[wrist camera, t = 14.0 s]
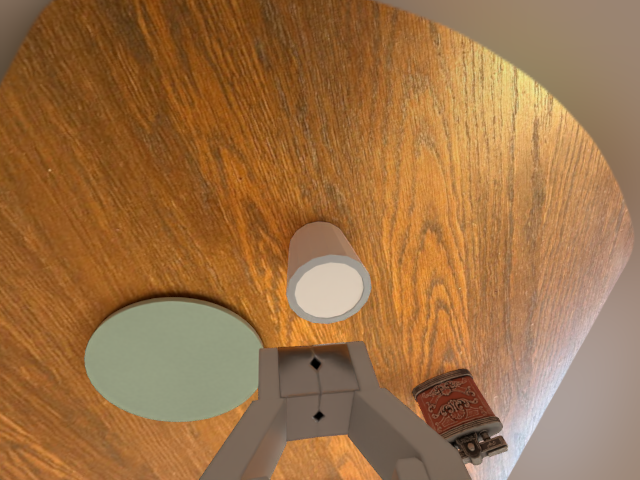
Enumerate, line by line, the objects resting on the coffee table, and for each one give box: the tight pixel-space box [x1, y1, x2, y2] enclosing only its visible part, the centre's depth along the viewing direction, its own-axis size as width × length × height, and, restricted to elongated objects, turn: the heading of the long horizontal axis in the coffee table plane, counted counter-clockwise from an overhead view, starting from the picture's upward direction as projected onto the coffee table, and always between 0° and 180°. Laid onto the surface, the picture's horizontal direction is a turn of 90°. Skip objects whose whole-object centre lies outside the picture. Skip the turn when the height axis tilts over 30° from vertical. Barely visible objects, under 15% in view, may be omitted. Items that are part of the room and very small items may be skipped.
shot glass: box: [286, 221, 371, 324], centre depth 31 cm, size 7×7×7 cm
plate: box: [84, 297, 264, 422], centre depth 38 cm, size 18×18×2 cm
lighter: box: [413, 369, 508, 465], centre depth 43 cm, size 8×3×10 cm, turn 112°
